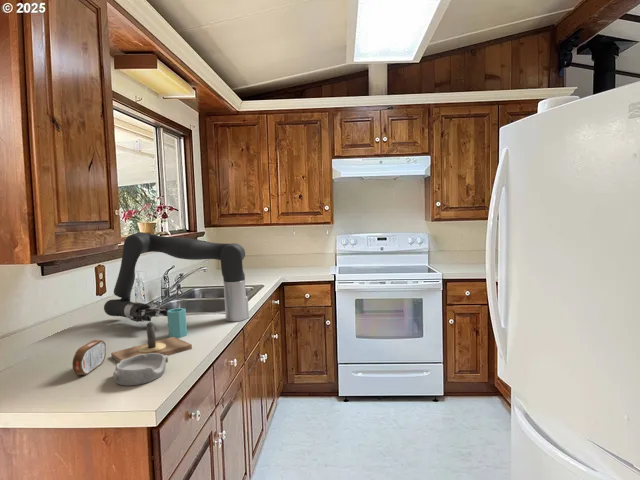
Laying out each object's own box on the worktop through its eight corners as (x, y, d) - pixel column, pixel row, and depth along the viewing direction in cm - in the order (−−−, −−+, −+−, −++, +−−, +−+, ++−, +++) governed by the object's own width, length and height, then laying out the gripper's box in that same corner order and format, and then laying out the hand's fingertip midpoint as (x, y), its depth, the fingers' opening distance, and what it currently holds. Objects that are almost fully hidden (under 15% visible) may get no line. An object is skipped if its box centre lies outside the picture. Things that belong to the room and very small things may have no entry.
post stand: (174, 340, 154) (172, 312, 153) (191, 348, 144) (189, 318, 143) (111, 357, 139) (108, 326, 138) (126, 367, 129) (123, 333, 128)
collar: (180, 332, 165) (178, 307, 164) (190, 334, 161) (188, 309, 160) (166, 336, 160) (164, 311, 159) (176, 338, 156) (174, 313, 155)
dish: (170, 366, 129) (169, 350, 128) (160, 384, 115) (159, 367, 115) (122, 370, 127) (120, 354, 126) (105, 390, 113) (103, 372, 113)
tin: (99, 361, 136) (97, 336, 135) (108, 360, 136) (106, 335, 135) (72, 380, 121) (69, 352, 120) (83, 379, 121) (80, 351, 120)
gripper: (120, 306, 170) (142, 311, 160) (152, 299, 181) (174, 303, 172) (122, 324, 170) (144, 329, 161) (153, 316, 182) (175, 321, 172)
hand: (159, 316), depth 166 cm, fingers open, 8 cm apart
